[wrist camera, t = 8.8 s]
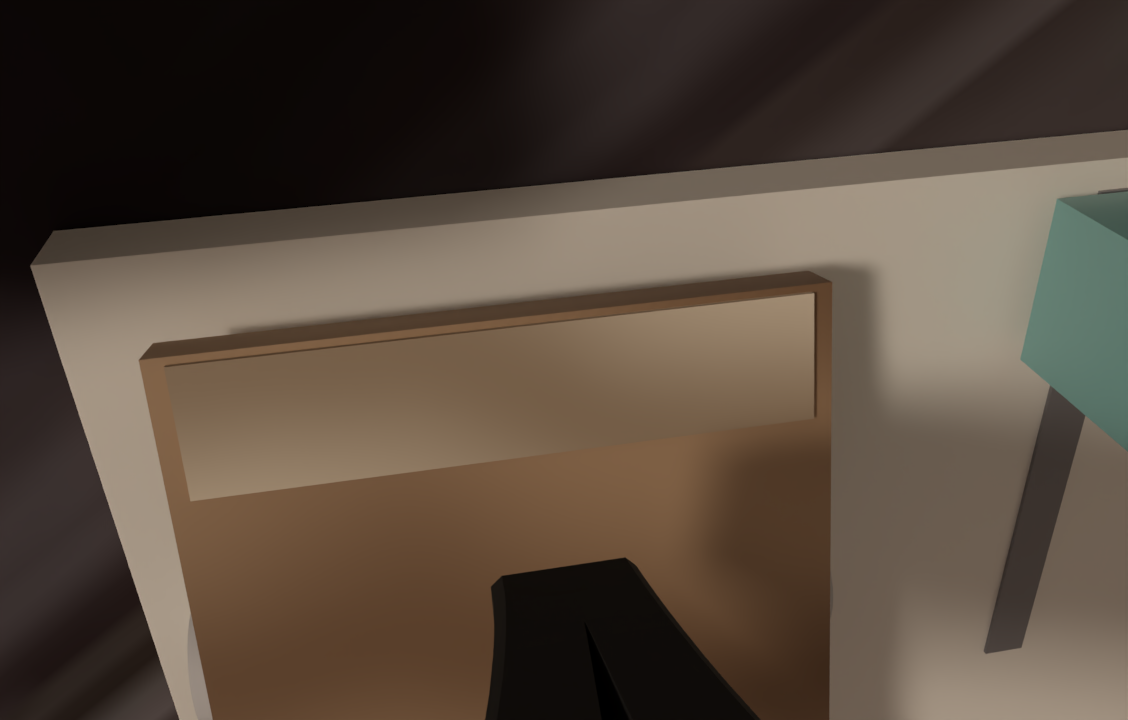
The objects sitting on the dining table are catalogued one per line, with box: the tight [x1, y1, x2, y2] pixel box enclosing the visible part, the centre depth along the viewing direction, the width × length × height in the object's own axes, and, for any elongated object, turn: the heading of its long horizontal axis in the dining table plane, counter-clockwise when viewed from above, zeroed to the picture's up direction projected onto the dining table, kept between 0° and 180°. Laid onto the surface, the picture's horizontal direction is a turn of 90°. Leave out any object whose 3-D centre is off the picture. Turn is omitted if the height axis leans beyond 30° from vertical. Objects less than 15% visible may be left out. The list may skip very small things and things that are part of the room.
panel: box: [30, 130, 1128, 720], centre depth 19 cm, size 16×26×3 cm, turn 92°
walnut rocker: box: [139, 271, 832, 720], centre depth 15 cm, size 11×9×1 cm
